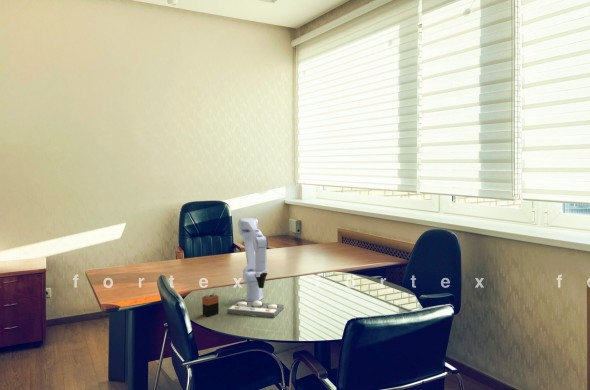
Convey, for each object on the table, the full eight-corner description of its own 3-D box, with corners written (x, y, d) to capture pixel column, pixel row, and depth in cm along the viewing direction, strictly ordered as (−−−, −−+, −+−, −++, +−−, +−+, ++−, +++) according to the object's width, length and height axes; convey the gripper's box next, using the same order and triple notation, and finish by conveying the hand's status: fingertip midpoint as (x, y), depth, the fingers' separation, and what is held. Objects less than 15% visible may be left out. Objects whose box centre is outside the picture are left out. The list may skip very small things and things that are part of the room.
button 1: (240, 306, 242) (240, 301, 242) (248, 306, 241) (248, 302, 241) (236, 308, 238) (236, 303, 238) (244, 309, 237) (244, 304, 237)
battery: (202, 315, 229) (201, 294, 229) (213, 312, 234) (213, 292, 233) (207, 317, 226) (207, 296, 226) (219, 314, 231) (218, 293, 230)
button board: (239, 304, 245) (238, 300, 245) (283, 308, 239) (283, 304, 238) (227, 313, 232) (227, 308, 232) (274, 317, 225) (274, 312, 225)
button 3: (269, 308, 238) (269, 303, 237) (278, 309, 236) (278, 304, 236) (266, 311, 233) (266, 306, 233) (275, 312, 232) (275, 307, 232)
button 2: (254, 305, 240) (254, 300, 240) (263, 306, 239) (263, 301, 238) (251, 307, 236) (251, 303, 235) (259, 308, 234) (259, 303, 234)
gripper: (256, 257, 246) (257, 283, 247) (249, 263, 231) (249, 291, 232) (270, 258, 245) (270, 284, 245) (263, 264, 230) (263, 291, 231)
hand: (261, 287), depth 239 cm, fingers closed
